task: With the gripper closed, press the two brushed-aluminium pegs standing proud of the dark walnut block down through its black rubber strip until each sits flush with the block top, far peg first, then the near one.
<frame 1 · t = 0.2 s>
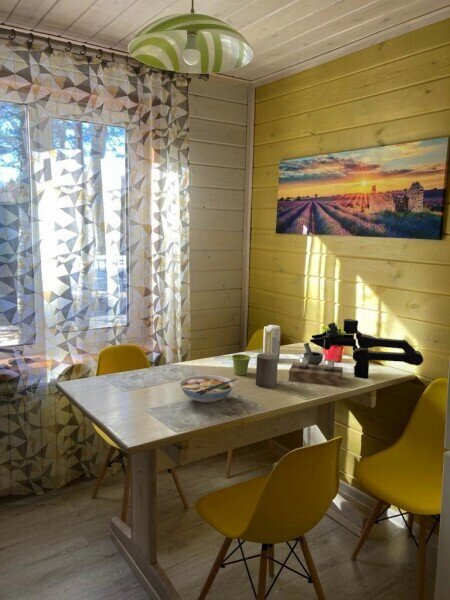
hand: (310, 338, 251), 17 cm above the table, tool horizontal, fingers open, 9 cm apart
peg far: (303, 363, 242), point 7 cm above the table, slide at 4.5 cm
juice carton: (270, 361, 271), on the table
mortar and pestle: (311, 367, 261), on the table
pillar candle: (266, 385, 231), on the table
peg near: (329, 366, 239), point 7 cm above the table, slide at 4.5 cm
plant pot: (240, 374, 247), on the table
ramen bowl: (206, 400, 210), on the table
walnut block: (315, 379, 241), on the table
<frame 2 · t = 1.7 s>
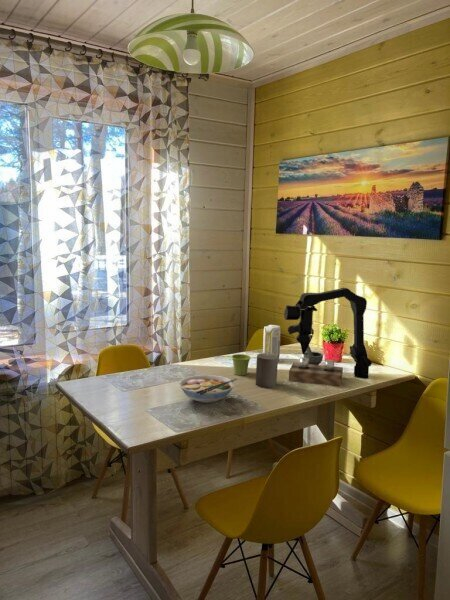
hand: (304, 352, 241), 13 cm above the table, tool pointing down, fingers open, 7 cm apart
nothing on the table moved.
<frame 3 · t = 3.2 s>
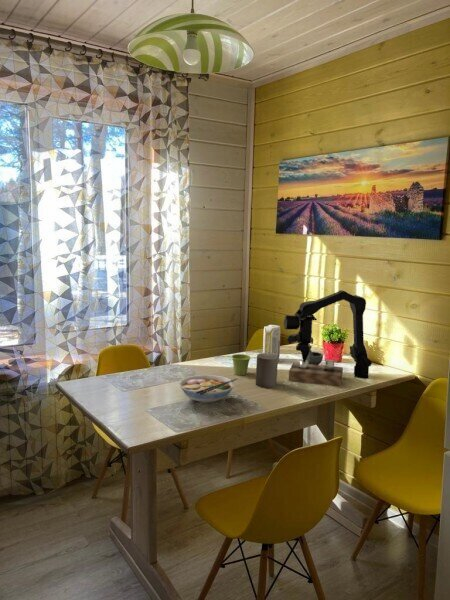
hand: (304, 361, 242), 8 cm above the table, tool pointing down, fingers closed, pressing on peg far
peg far: (303, 366, 242), point 6 cm above the table, slide at 3.2 cm, touching gripper
everything else where it was.
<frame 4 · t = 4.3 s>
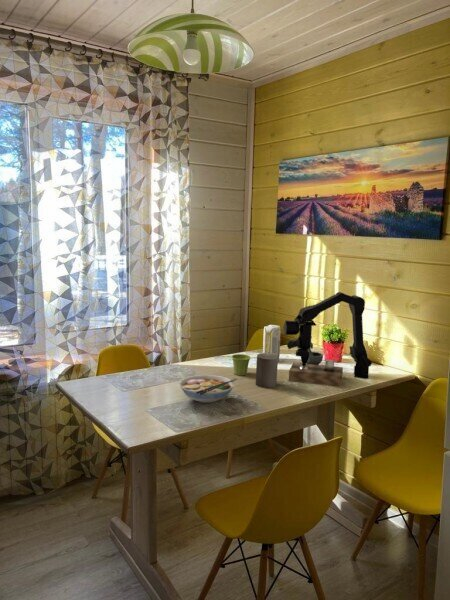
hand: (303, 366, 242), 6 cm above the table, tool pointing down, fingers closed
peg far: (303, 371, 242), point 3 cm above the table, slide at 0.4 cm
everything else where it was.
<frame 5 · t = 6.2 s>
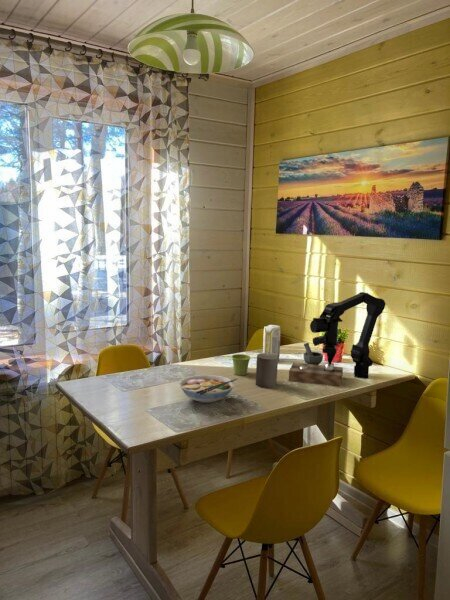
hand: (329, 363, 239), 8 cm above the table, tool pointing down, fingers closed, pressing on peg near
peg near: (329, 368, 239), point 6 cm above the table, slide at 3.2 cm, touching gripper
everything else where it was.
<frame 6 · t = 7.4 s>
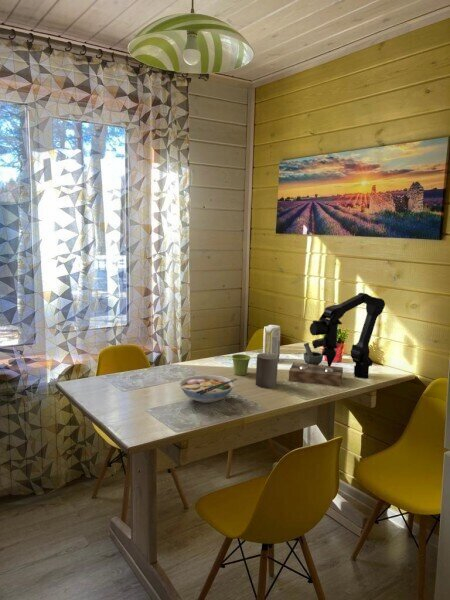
hand: (329, 366, 239), 7 cm above the table, tool pointing down, fingers closed
peg near: (329, 374, 239), point 3 cm above the table, slide at 0.4 cm
everything else where it was.
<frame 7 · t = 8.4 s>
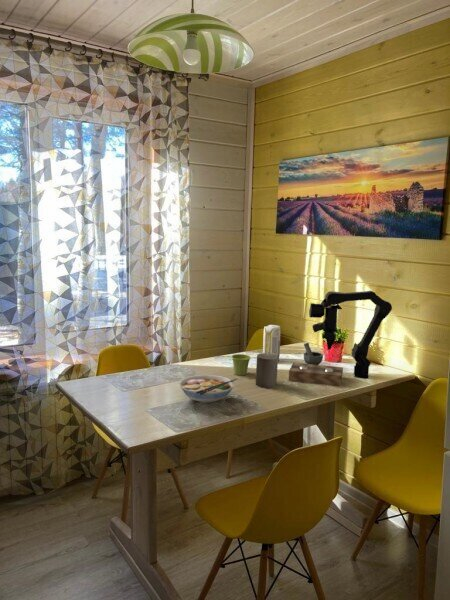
hand: (329, 349, 246), 13 cm above the table, tool pointing down, fingers closed
nothing on the table moved.
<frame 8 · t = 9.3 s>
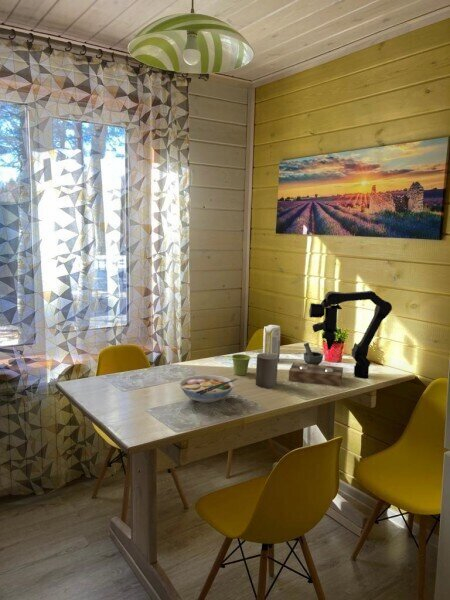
hand: (329, 349, 246), 13 cm above the table, tool pointing down, fingers closed
nothing on the table moved.
at the end: peg far slide at 0.4 cm; peg near slide at 0.4 cm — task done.
